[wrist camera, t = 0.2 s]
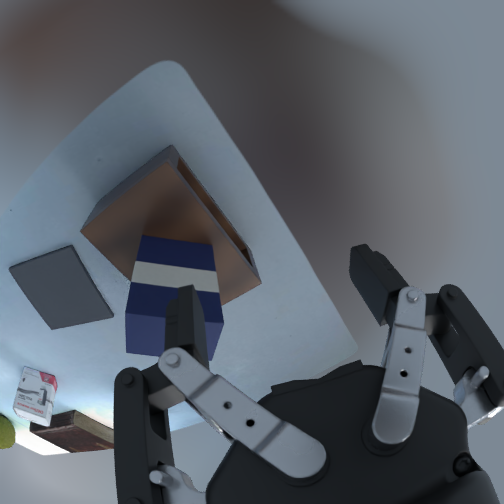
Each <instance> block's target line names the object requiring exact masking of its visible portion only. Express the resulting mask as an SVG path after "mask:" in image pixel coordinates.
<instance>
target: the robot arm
mask: <svg viewBox="0 0 504 504" xmlns="http://www.w3.org/2000/svg"><path fill="white" fill-rule="evenodd" d="M349 268H350V269H349V273H350V278H351V280H352V282H353V284H354V285H355V287H356V288H357V290H358V291H359V293H360V295H361V296H362V298H363V299H364V301H365V303H366V304H367V305H368V307H369V309H370V311H371V312H372V314H373V315H374V317H375V319H376V320H377V322H378V323H379V325H380V326H382V325H385V324H388V325H389V327H390V328H389V332H388V336H387V341H386V345H385V350H384V354H383V358H382V362H381V365H380V367H379V366H374V365H363V364H362V362H361V360H358V361H355V362H352V363H349V364H346V365H343V366H340V367H338V368H337V369H335V370H333V371H332V372H330V373H328V374H327V375H325V376H323V377H321V378H319V379H309V380H293V381H289V382H285V383H281V384H278V385H273V386H271V389H272V392H271V393H269V394H267V395H266V396H264V397H263V398H262V399H260V400H259V401H258V402H257V403H256V402H255V401H254V400H252V399H251V398H249V397H248V396H247V395H245V394H244V393H243V392H241V391H240V390H239V389H237V388H236V387H235V386H233V385H232V384H231V383H229V382H228V381H227V380H226V379H224V378H223V377H222V376H220V375H218V374H216V375H214V374H213V373H211V372H210V370H209V361H208V351H207V341H206V331H205V320H204V313H203V309H202V306H201V303H200V300H199V298H198V295H197V292H196V290H195V287H194V285H193V284H191V285H187V286H182V287H178V298H177V299H172V300H170V301H169V303H168V305H167V307H166V316H165V317H166V318H165V345H164V352H163V353H162V354H161V356H160V357H159V360H158V362H157V363H156V364H155V365H153V366H151V367H149V368H147V369H144V370H142V371H140V370H138V369H137V368H134V367H129V368H125V369H123V370H122V371H120V372H119V373H118V375H117V376H116V378H115V383H114V459H115V476H116V488H117V498H118V504H500V502H499V500H498V497H497V494H496V492H495V489H494V487H493V484H492V482H491V480H490V477H489V476H488V474H487V473H486V472H485V471H484V470H483V469H482V468H481V467H480V466H479V465H478V464H477V463H476V462H475V461H474V459H473V458H472V456H471V454H470V452H469V447H468V438H467V433H468V429H469V428H471V427H472V426H474V425H476V424H479V425H482V424H485V423H487V422H488V421H489V420H490V419H491V418H493V417H494V416H495V415H496V414H497V413H499V412H500V411H501V410H502V409H503V408H504V350H503V348H502V347H501V345H500V343H499V342H498V340H497V339H496V337H495V336H494V334H493V333H492V331H491V330H490V328H489V327H488V325H487V324H486V323H485V321H484V320H483V318H482V317H481V316H480V314H479V313H478V311H477V310H476V309H475V307H474V306H473V305H472V303H471V302H470V301H469V300H468V298H467V297H466V295H465V294H464V293H463V292H462V290H461V289H460V288H458V287H457V286H454V285H451V284H447V285H444V286H442V287H441V289H440V291H439V293H434V294H433V293H432V294H424V292H423V291H422V290H421V289H419V288H417V287H412V286H409V285H408V284H407V283H406V281H405V280H404V279H403V277H402V276H401V275H400V274H399V272H398V271H397V270H396V269H394V266H393V265H392V264H390V262H389V260H388V259H387V258H386V257H385V256H384V255H382V254H381V253H379V252H377V251H374V252H373V251H372V250H371V249H370V248H369V246H368V245H367V244H362V245H358V246H354V247H352V248H351V253H350V267H349ZM453 327H454V328H453ZM455 330H456V331H455ZM456 332H457V333H458V334H457V333H456ZM427 335H428V337H429V339H430V340H431V342H432V344H433V346H434V347H435V349H436V351H437V353H438V354H439V356H440V358H441V360H442V361H443V363H444V365H445V367H446V369H447V371H448V373H449V375H450V376H451V378H452V380H453V382H454V384H455V388H454V402H453V401H452V400H450V399H447V398H445V397H443V396H441V395H439V394H437V393H435V392H432V391H430V390H428V389H426V388H424V387H422V386H420V383H421V377H422V370H423V363H424V355H425V346H426V336H427ZM458 335H459V336H458ZM183 401H185V402H186V403H187V404H188V405H189V406H190V407H191V408H193V409H194V410H195V411H196V412H197V413H198V414H199V415H200V416H201V417H202V418H203V419H204V420H206V421H207V422H208V423H209V424H210V425H211V426H212V427H213V428H214V429H215V430H216V431H217V432H218V433H219V434H220V435H221V436H223V437H224V438H225V439H226V440H227V441H229V442H230V443H231V444H232V445H231V446H230V448H229V450H228V452H227V453H226V455H225V457H224V459H223V460H222V462H221V463H220V465H219V467H218V468H217V470H216V472H215V473H214V475H213V477H212V478H211V480H210V482H209V483H208V486H207V488H206V492H199V491H198V490H197V489H196V488H195V487H194V485H193V483H192V480H191V478H190V477H189V476H188V475H187V474H186V473H184V472H182V471H181V470H179V469H177V468H175V464H174V458H173V451H172V443H171V436H170V427H169V418H168V408H170V407H172V406H174V405H176V404H178V403H181V402H183Z"/></svg>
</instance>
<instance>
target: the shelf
mask: <svg viewBox="0 0 504 504" xmlns="http://www.w3.org/2000/svg"><path fill="white" fill-rule="evenodd" d="M80 232H81V233H82V234H83V235H84V236H85V237H86V238H87V239H88V240H89V241H90V242H91V243H92V244H93V245H94V246H95V247H96V248H97V249H98V250H99V251H100V252H101V253H102V254H103V255H104V256H105V257H106V258H107V259H108V260H109V261H110V262H111V263H112V264H113V265H114V266H115V267H116V268H117V269H118V270H119V271H120V272H121V273H122V274H123V275H124V276H125V277H126V278H128V279H129V280H130V281H131V279H132V275H133V270H134V265H135V262H136V257H137V253H138V249H139V245H140V241H141V237H142V235H145V236H152V237H159V238H166V239H173V240H180V241H187V242H193V243H200V244H207V245H213V252H214V260H215V267H216V273H217V280H218V287H219V294H220V301H221V306H222V305H224V304H226V303H228V302H229V301H231V300H233V299H235V298H237V297H239V296H240V295H242V294H244V293H246V292H248V291H249V290H251V289H253V288H255V287H256V286H258V285H260V284H262V283H261V280H260V277H259V274H258V271H257V268H256V265H255V262H254V258H253V255H252V252H251V250H250V249H249V247H248V246H247V245H246V243H245V242H244V241H243V239H242V238H241V237H240V235H239V234H238V233H237V231H236V230H235V229H234V227H233V226H232V224H231V223H230V222H229V220H228V219H227V218H226V216H225V215H224V214H223V212H222V211H221V210H220V208H219V207H218V206H217V204H216V203H215V202H214V200H213V199H212V197H211V196H210V195H209V193H208V192H207V191H206V189H205V188H204V187H203V185H202V184H201V183H200V181H199V180H198V179H197V177H196V176H195V175H194V173H193V172H192V170H191V169H190V168H189V166H188V165H187V164H186V162H185V161H184V160H183V158H182V157H181V156H180V155H179V153H178V152H177V150H176V149H175V148H174V146H173V145H170V146H169V147H167V148H166V149H165V150H163V151H162V152H160V153H159V154H158V155H156V156H155V157H154V158H152V159H151V160H150V161H148V162H147V163H146V164H144V165H143V166H142V167H140V168H139V169H138V170H137V171H135V172H134V173H133V174H131V175H130V176H129V177H128V178H126V179H125V180H124V181H123V182H121V183H120V184H119V185H118V186H117V187H115V188H114V189H113V190H112V191H111V192H109V193H108V194H107V195H106V196H105V197H103V198H102V199H101V200H100V201H99V202H98V203H97V204H96V206H95V207H94V209H93V210H92V212H91V214H90V215H89V217H88V219H87V220H86V222H85V224H84V225H83V227H82V229H81V231H80Z"/></svg>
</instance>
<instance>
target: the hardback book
mask: <svg viewBox="0 0 504 504" xmlns="http://www.w3.org/2000/svg"><path fill="white" fill-rule="evenodd" d="M30 432H32V433H34V434H35V435H37V436H39V437H41V438H43V439H45V440H46V441H48V442H50V443H52V444H54V445H56V446H58V447H60V448H62V449H65V450H67V451H69V452H71V453H73V452H86V451H97V450H105V449H114V430H112V429H110V428H108V427H106V426H104V425H102V424H100V423H98V422H96V421H94V420H92V419H91V418H89V417H87V416H85V415H83V414H82V413H80V412H78V411H76V410H73V411H69V412H65V413H61V414H56V415H52V416H51V421H50V426H48V427H47V426H43V425H40V424H37V423H34V422H30Z"/></svg>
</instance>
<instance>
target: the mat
mask: <svg viewBox="0 0 504 504" xmlns="http://www.w3.org/2000/svg"><path fill="white" fill-rule="evenodd" d="M9 271H10V273H11V274H12V276H13V278H14V279H15V281H16V282H17V284H18V285H19V287H20V288H21V290H22V291H23V292H24V294H25V295H26V297H27V298H28V300H29V301H30V302H31V304H32V305H33V306H34V308H35V309H36V310H37V312H38V313H39V314H40V316H41V317H42V318H43V320H44V321H45V322H46V323H47V325H48V326H49V327H50V328H51V330H53V329H59V328H64V327H69V326H74V325H79V324H84V323H89V322H94V321H99V320H103V319H108V318H113V317H114V314H113V313H112V311H111V310H110V308H109V306H108V305H107V303H106V302H105V300H104V299H103V297H102V296H101V294H100V292H99V291H98V289H97V287H96V286H95V284H94V282H93V281H92V279H91V277H90V276H89V274H88V272H87V271H86V269H85V267H84V265H83V264H82V262H81V260H80V258H79V256H78V255H77V253H76V251H75V249H74V247H73V245H70V246H67V247H64V248H62V249H59V250H56V251H53V252H50V253H47V254H45V255H42V256H39V257H36V258H34V259H31V260H28V261H25V262H23V263H20V264H18V265H15V266H12V267H10V268H9Z"/></svg>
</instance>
